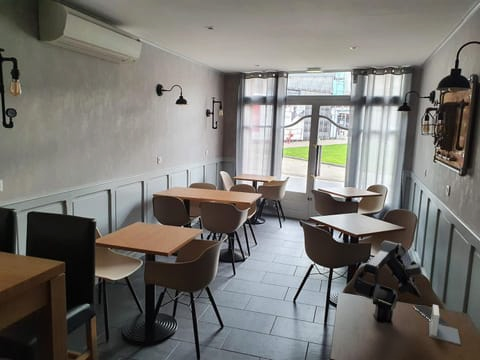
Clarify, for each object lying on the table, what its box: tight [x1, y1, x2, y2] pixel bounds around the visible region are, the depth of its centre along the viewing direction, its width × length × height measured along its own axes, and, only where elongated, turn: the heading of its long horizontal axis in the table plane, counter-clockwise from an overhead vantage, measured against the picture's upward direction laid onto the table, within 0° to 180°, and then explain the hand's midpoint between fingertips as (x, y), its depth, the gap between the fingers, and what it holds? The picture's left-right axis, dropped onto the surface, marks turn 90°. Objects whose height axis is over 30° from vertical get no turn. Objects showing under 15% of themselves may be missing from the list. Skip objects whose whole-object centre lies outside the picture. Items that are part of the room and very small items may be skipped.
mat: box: [428, 321, 461, 346], centre depth 149 cm, size 11×12×1 cm
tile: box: [429, 304, 441, 336], centre depth 150 cm, size 2×10×9 cm, turn 153°
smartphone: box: [412, 304, 449, 326], centre depth 164 cm, size 7×1×16 cm
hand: (419, 296), depth 152 cm, fingers closed
